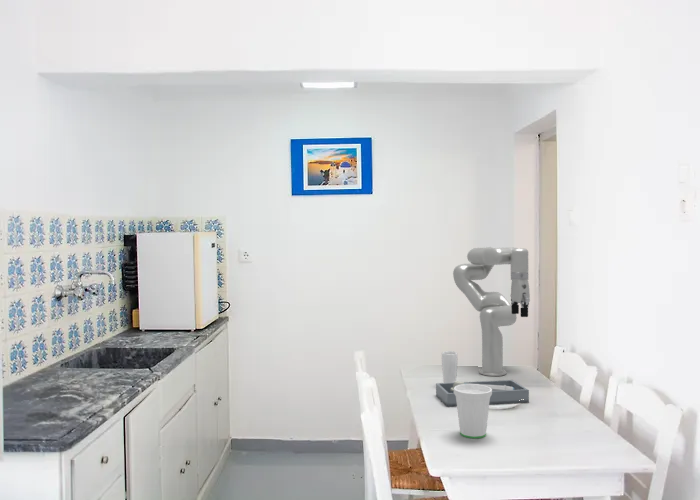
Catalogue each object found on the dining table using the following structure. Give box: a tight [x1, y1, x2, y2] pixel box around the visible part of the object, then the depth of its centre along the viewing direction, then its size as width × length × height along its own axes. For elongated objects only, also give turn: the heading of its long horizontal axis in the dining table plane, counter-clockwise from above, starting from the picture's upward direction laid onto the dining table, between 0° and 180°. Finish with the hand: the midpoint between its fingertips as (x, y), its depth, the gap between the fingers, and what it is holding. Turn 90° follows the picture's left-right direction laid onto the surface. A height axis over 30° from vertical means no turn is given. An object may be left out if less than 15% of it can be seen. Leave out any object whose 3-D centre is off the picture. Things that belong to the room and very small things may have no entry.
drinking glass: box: [441, 350, 458, 383], centre depth 255 cm, size 7×7×15 cm
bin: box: [435, 379, 530, 408], centre depth 236 cm, size 16×33×5 cm, turn 97°
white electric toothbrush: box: [450, 380, 514, 393], centre depth 236 cm, size 5×7×25 cm
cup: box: [454, 384, 492, 439], centre depth 195 cm, size 12×12×15 cm
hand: (519, 315), depth 258 cm, fingers open, 9 cm apart
